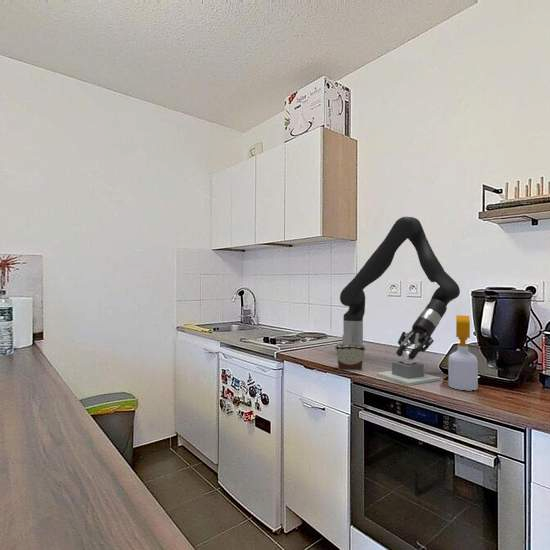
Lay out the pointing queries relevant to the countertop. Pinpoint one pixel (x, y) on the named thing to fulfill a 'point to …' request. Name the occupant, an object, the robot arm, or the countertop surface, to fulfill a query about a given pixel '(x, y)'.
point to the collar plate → (408, 374)
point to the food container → (350, 356)
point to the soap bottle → (463, 360)
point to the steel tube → (407, 358)
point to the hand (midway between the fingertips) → (404, 356)
